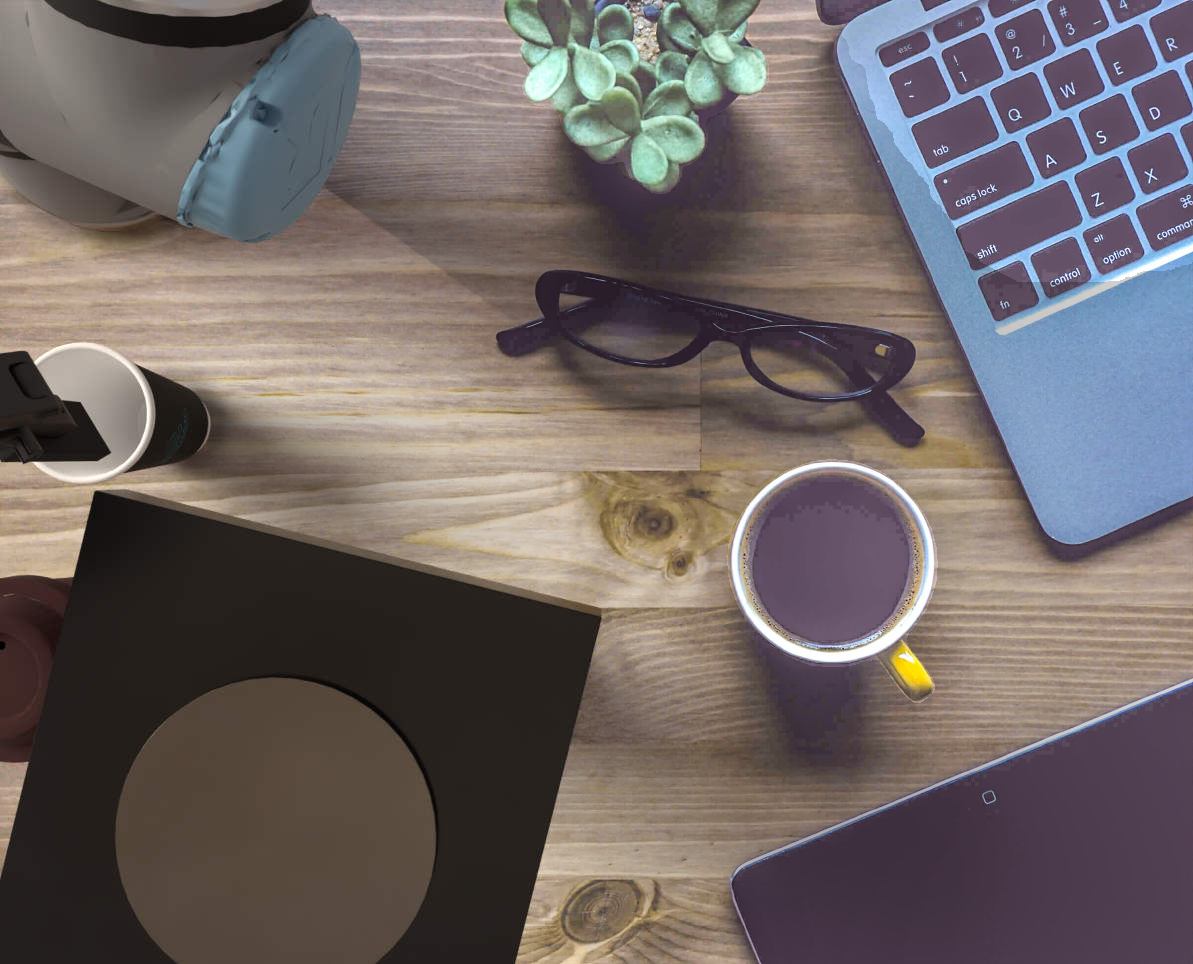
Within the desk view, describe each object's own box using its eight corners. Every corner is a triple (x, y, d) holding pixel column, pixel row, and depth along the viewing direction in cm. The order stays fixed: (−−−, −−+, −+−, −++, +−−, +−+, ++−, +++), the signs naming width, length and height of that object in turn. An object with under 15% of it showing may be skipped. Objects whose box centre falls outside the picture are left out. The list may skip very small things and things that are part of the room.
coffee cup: (198, 713, 61) (67, 791, 46) (55, 684, 61) (-122, 752, 46) (226, 570, 61) (105, 602, 46) (84, 541, 61) (-85, 563, 46)
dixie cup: (108, 376, 61) (-1, 354, 50) (223, 356, 61) (139, 330, 50) (128, 491, 61) (24, 495, 50) (243, 471, 61) (164, 471, 50)
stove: (124, 488, 33) (66, 490, 29) (601, 608, 33) (602, 625, 29) (-4, 1015, 33) (-78, 1081, 29) (470, 1134, 33) (454, 1215, 29)
